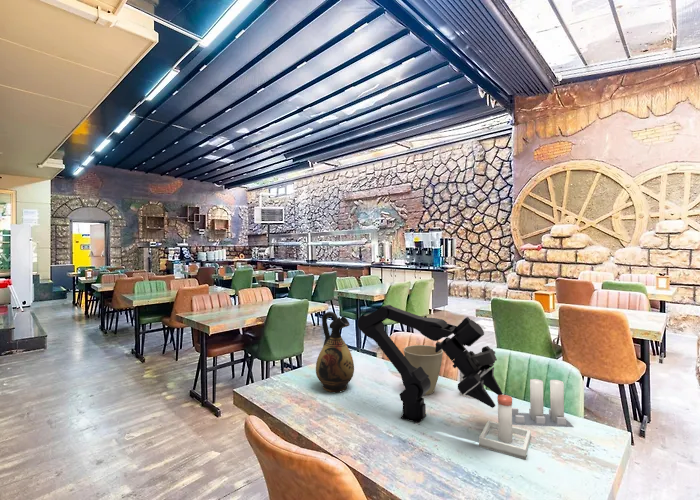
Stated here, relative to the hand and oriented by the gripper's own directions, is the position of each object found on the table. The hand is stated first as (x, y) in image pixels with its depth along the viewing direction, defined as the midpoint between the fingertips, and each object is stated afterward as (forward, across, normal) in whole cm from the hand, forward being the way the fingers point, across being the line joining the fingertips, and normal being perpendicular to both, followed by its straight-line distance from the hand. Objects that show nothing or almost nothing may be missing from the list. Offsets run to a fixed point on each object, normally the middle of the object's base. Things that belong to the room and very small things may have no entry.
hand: (497, 400), depth 100 cm
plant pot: (-14, +22, +31) cm, 40 cm away
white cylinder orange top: (+9, 0, +6) cm, 11 cm away
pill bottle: (-2, +26, +19) cm, 33 cm away
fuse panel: (+13, +18, +3) cm, 22 cm away
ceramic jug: (-36, +6, +54) cm, 65 cm away
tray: (+10, 0, +7) cm, 12 cm away
